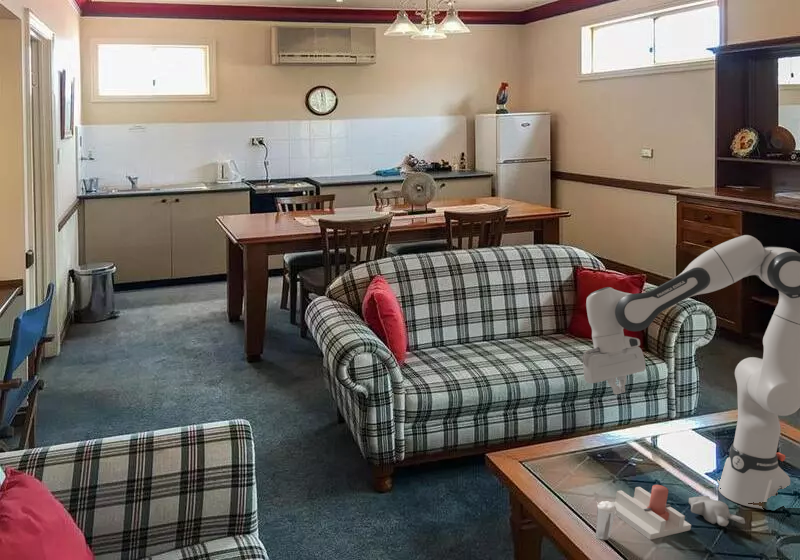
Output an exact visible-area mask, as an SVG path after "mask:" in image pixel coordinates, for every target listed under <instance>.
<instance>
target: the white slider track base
mask: <svg viewBox="0 0 800 560" xmlns="http://www.w3.org/2000/svg"><path fill="white" fill-rule="evenodd" d="M650 497H651V492H649V491H648V490H645V489H644V488H642V487H641V486H636V487H635V488H634V493H633V497H632V496H631V495H629V494H627V493H626V491H623V490H617V491H616V495H615V501H610V502H611V503H613V504H614V505H615V507H616V513H615V517H618V518H619V519H621V520H622V521H623V522H624V523H626V524H627V525H628V526H630V527H631V528H633V529H635V530H636V532H638V533H640V534H641V535H642V536H644V537H645V538H647V540H655V539H659V538H664V537H667V536H672V535H675V534H679V533H683V532H688V531H691V529H692V528H691V527H692V524H690V523H689V522H688V521H686V520H685V519H686V518H685V517H686V515H684V514H683V513H681V512H679V511H678V510H676V509H675V508H673V507H671V504H670V503H666V508H665V511H667V512H668V513H669V518H668V520H667V521H666V520H664V519H663V518H662V517H660V516H659V515H657V514H656V513H654V512H653V511H651V508H647V507H649V503H650Z"/></svg>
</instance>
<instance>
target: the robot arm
mask: <svg viewBox="0 0 800 560" xmlns="http://www.w3.org/2000/svg"><path fill="white" fill-rule="evenodd" d="M749 276H756V277H757V278H758V279H759V280H761V281H762V282H764V283H765V284H766V285H767V286H769V287H771V288H773V289H776V290H777V291H778V294H779V295H778V301H777V302H778V303H777V305H776V306H775V308H774V309H775V310H774V311H773V314H772V315H771V318H770V320H769V322H768V325H767V328H766V329H765V332H764V335H763V338H762V345H763V355H762V358H759V357H754V356H752V357H751V356H750V357H746V358H744V359H741V360H740V361H739V363H737V365H736V366H735V369H734V377H735V378H734V379H735V381H736V386H737V390H736V391H737V394H736V395H737V423H736V426H735V427H736V428H735V432H734V433H735V434H734V439H733V442H732V443H731V445H730V449H729V453H728V454H729V456H728V457H727V458H726V460H725V463H724V467H723V470H722V473H721V476H720V477H721V479H720V481H719V480H718V479H717V480H716V481H717V483H718V485H719V486H718V492H719V493H720V495H722V496H724V498H726V499H728V500H729V501H732V502H734V503H736V504H740V505H742V506H746V507H749V508H756V509H761V510H764V509H763V508H762V506H759V505H753V504H748V503H753V502H754V503H759V502H761V503H762V502H767V499H768V498H770V497H771V496H775V495H776V496H777V495H778V492H777V491H778V490H779V489H784V488H786V487H787V486H789V485H790V486H791V478H790V476H789V475H788V474H787V473H786V472H785V471H784V470H783V469H782V468H781V467H780V465H779V461H781V462H784V461H785V460H786V455H785V454H783V453H781V452H779V451H778V446H779V441H780V436H781V431H782V428H781V423H780V419H779V416H780V417H781V416H782V417H788V416H791V415H792V414H795V413H796V412H797V411H798V410H799V409H800V252H797V251H796V250H794V249H791V248H789V247H788V248H787V247H783V246H777V245H769V246H768V245H765V246H763V244H762V242H761V241H760V240H758V238H756V237H754V236H752V235H749V234H744V235H740V236H736V237H734V238H732V239H728V240H726V241H724V242H722V243H719V244H717V245H715V246H713V247H711V248H709V249H708V250H706V251H704V252H702V253H701V254H700V255H698V256H697V257H696V258H694V259H693V260H692V261H691V262H690V263H689V264H688V265H687V266H686V267H685V268H684V270H682V272H680V273H679V274H678V275H677V276H675V277H673V278H671V279H670V280H668V281H666V282H664V283H662V284H660V285H659V286H657V287H655V288H653V289H651V290H649V291H646V292H638V293H636V292H635V293H629V292H624V291H622V290H617V289H614V288H613V287H610V286H607V287H603V288H599V289H598V290H597V289H596V290H595V291H593V292H591V293H590V294H588V296H587V297H586V303H585V307H586V313H587V314H586V315H587V319H588V323H589V326H590V328H591V339H592V344H593V348H592V349H587V350H585V351H584V353H583V354H582V357H581V359H582V370H583V371H582V372H583V378H584V380H585V382H586V384H595V383H596V384H597V383H601V382H604V381H607V383H608V385H609V386H610V388H611V389H612V392H613V394H614V395H620V394H623V393H626V387H625V386H626V383H627V376H629V375H634V374H637V373H641V372H644V371H645V370H646V361H645V357H644V353H643V350H642V348H641V347H640V346H641V340H640V339H639V338H637V337H632V336H628V335H625V333H624V329H625V330H627V331H629V332H641V331H643V330H645V329H647V328H649V326H650V325H651V324H652V323H653V322H654V321H655V319H656V318H657V316H659V315H660V314H661V313H663V312H664V311H665V310H667V309H669V308H671V307H673V306H676V305H678V303H680V302H681V303H682V302H683V301H685V300H686V299H688V298H689V299H690V298H691V297H693V296H694V297H695V296H697V295H698V296H699V295H704V294H709V293H713V292H716V291H720V290H721V289H724V288H727V287H728V286H730V285H733V284H734V283H737V282H738V281H740V280H742V279H743V278H747V277H749ZM617 381H618V385H617V383H616V382H617ZM777 451H778V452H777ZM778 460H779V461H778ZM720 488H721V489H720Z"/></svg>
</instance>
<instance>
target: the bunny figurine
mask: <svg viewBox="0 0 800 560" xmlns="http://www.w3.org/2000/svg"><path fill="white" fill-rule="evenodd" d="M688 504H689V505H690V512H691V513H692V514H696V515H700V516H703V518H704V520H705V521H707V522H709V523H711V524H713V525H715V524H717V525H718V526H721V527H726V526H728V524H729V522H730V521H729V520H732V521H734V522H737V523H739V524H743V525H745V524H746V520H745V518H744V517H742V516H739V515H736V514H732V513H730V510H729V506H728V505H727V504H726V503H725V502H724V501H721V500H718V499H717V500H715V499H712V498H710V496H708V495H702V496H700V495H699V496H693V497H692V496H691V497H688Z"/></svg>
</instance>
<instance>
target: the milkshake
mask: <svg viewBox="0 0 800 560" xmlns="http://www.w3.org/2000/svg"><path fill="white" fill-rule="evenodd" d="M595 500H596V503H597V508H596V509H597V510H596V529H595V537H596V538H597V539H599V540H602V541H607V540H609V539H610V536H611V534H612V533H611V532H612V528H613V524H614V522H615V521H614V520H615V517H616V515H615V513H616V507H615V505H614V504H613V503H611V502H612V501H609V500H606V501H605V500H603V501H600V502H598V497H595Z"/></svg>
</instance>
